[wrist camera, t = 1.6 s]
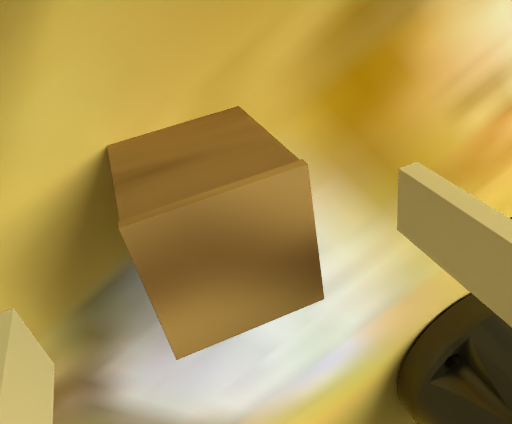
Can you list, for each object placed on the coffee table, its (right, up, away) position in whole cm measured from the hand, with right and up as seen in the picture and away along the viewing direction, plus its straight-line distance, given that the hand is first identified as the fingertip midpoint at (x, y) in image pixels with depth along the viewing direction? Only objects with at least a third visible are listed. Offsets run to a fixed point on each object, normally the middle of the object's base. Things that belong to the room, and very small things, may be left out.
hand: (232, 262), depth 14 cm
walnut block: (-2, +3, +6) cm, 7 cm away
